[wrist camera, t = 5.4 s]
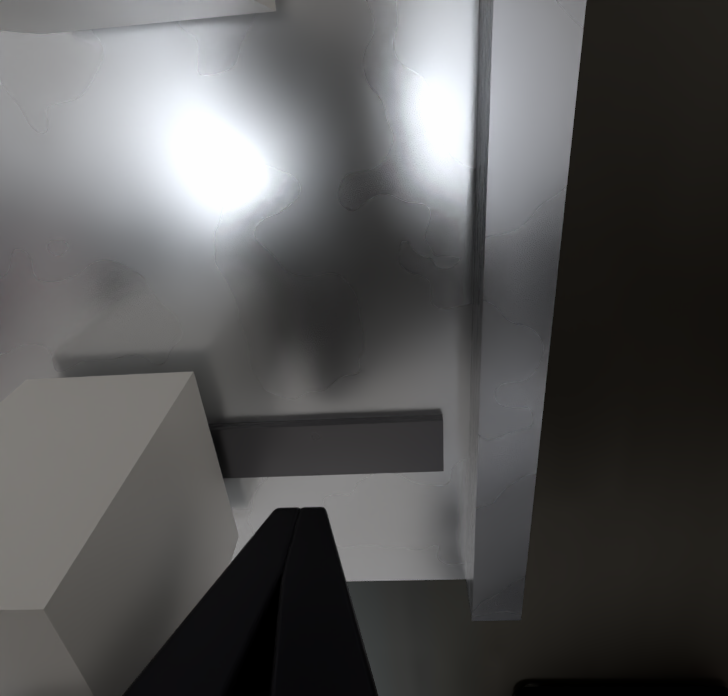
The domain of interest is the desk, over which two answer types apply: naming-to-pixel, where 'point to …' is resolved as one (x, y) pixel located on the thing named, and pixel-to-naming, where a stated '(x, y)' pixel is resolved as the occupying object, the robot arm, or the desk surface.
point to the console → (311, 254)
